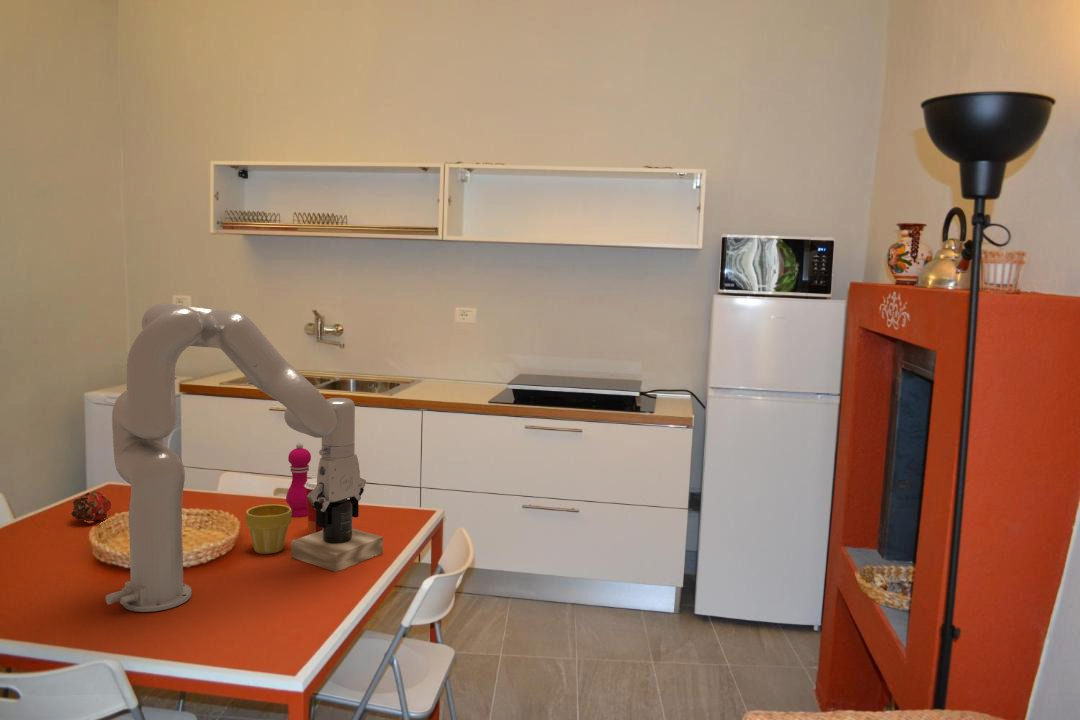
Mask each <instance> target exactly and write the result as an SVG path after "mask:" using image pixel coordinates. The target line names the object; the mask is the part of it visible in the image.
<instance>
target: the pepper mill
mask: <svg viewBox="0 0 1080 720" xmlns="http://www.w3.org/2000/svg"><path fill="white" fill-rule="evenodd" d="M287 459H288V462H289V464H290V466H289V468H290V470H289V471H290V472H291V476H292V477H291V483H290V486H289V488H288V489H287V493H286V497H285V501H286V503H287V504H288V506H289V507H290V508H291V510H292V516H291V517H293V516H294V517H295V518H296V517H298V518H300V517H306V516H307V517H308V514H307V497H306V488H305V486H304V485H305V484H306V482H307V480H308V472H309V471H310V468H309V467H310V465H309V463H310V462H311V460H312V454H311V452H310V451H309V450H308V449H306V448H304V444H303V443H302V442H298V443H297V444H296V448H294V449H291V451H289V453H288V457H287Z"/></svg>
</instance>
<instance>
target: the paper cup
mask: <svg viewBox="0 0 1080 720" xmlns="http://www.w3.org/2000/svg"><path fill="white" fill-rule="evenodd" d="M304 486H305V488H306V497H307V496H308V494H309V493H310V492H311V491H312V490H313V489H314V488H316V487H317V477H313V478H309V479H307V482H306V484H305V485H304ZM317 500H318V497H317ZM323 503H324V501H323V502H322V504H321V505H323ZM307 514H308V515H307V524H308V525H307V527H308V535H310V534H313V533H316V532H319V531H322V530H323V527H319V526H317V525H316V510H315V509H314V507H312V506H311V504H310V501H309V499H308V497H307Z"/></svg>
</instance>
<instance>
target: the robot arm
mask: <svg viewBox="0 0 1080 720" xmlns="http://www.w3.org/2000/svg"><path fill="white" fill-rule="evenodd" d="M141 327H142V330H141V331H140V333H138V335H137V336H136V338H135V339H134V341H133V343H132V345H131V347H130V349H129V351H128V356H127V359H126V390H124V391H123V393H121V394H119V396H118V398H117V399H116V400H115V402H114V405H113V408H112V413H111V425H112V426H111V428H112V443H113V445H112V446H113V457H114V464H115V465H114V466H115V469H116V472H117V473H118V475H119V476H120V477H121V478H122V479H123V480H124V481H125V482H127V484H129V485H130V490H131V491H130V500H129V508H128V528H129V529H128V531H129V532H128V533H129V563H130V565H129V566H130V580H128V581H126V582H124V587H122V588H121V590H119V591H115V592H112V593H108V594H106V595H105V601H106V604H107V605H111V604H115V603H117V602H119V603H120V604H121V605H122V606H123V607H124V608H125V609H126V610H129V611H132V612H137V613H138V612H139V613H149V612H151V613H152V612H159V611H160V612H161V611H166V610H169V609H172V608H176V607H178V606H180V605H182V604H185V602H187V601H188V600H190V599H191V597H192V593H193V592H192V587H191V586H190V585H188V584H186V583H184V560H183V559H184V558H183V553H184V552H183V547H184V546H183V493H184V487H185V480H186V471H185V466H184V463H183V461H182V460H181V458H180V457H179V455H178V454H177V453H176V452H174V451H173V450H172V449H170V448H169V447H167V446H165V445H164V439H165V438H167V437H168V436H169V435H171V433H173V431H174V430H175V428H176V424H177V419H178V418H177V416H178V414H177V400H176V399H177V397H176V367H177V362H178V360H179V358H180V356H181V355H182V353H183V352H184V351H185V350H186V349H187V348H189V347H196V348H197V347H198V348H199V347H200V348H214V349H218V350H221V351H222V352H223V353H224V354H225V355H226V356H227V357H228V359H229V360H230V361H231V362H232V363H233V364H234V365H235V366H236V367H237V368H238V369H239V371H240V372H241V373H242V375H244V377H246V379H247V380H248V381H249V382H250V383H251V385H253V386H254V387H255V388H257V389H258V390H259V391H260V392H262V393H264V394H266V395H267V396H268V397H271V398H272V399H274V400H276V401H277V402H278V403H280V404H281V405H283V406H284V407H285V410H284V417H283V419H284V421H285V423H286V425H287V426H288V427H289V428H290V429H292V430H293V431H296V432H299V433H302V434H304V435H307V436H311V437H312V438H314V439H315V438H316V439H317V438H318V439H321V449H320V450H319V451H318V454H319V455H320V456H321V457H320V458H319V461H318V468H317V475H316V476H317V477H316V478H317V487H316V488H314V489H313V490H312V491H311V492H310V493H309V494H308V496H307V497H308V499H309V501H310V504H311V506H312V507H314V509H315V510H316V525H317V526H319V527H323V528H327V527H328V511H325V510H326V508H327V507H328V505H329V503H330V502H337V501H341V500H343V499H348V500H350V501H351V502H352V518H359V509H360V508H359V507H360V505H359V503H360V502H359V501H361V499H362V497H361V496H362V495H363V493H364V491H365V486H366V483H367V480H366V479H364V478H361V473H360V472H361V470H360V464H359V459H358V455H357V454H356V452H355V448H356V447H355V444H356V443H355V437H356V435H355V434H356V433H355V427H356V425H355V424H356V423H355V422H356V421H355V420H356V418H355V417H356V413H355V412H356V406H355V402H354V400H352V399H351V398H349V397H330V398H327V399H326V397H325V396H324V395H323V394H322V393H321V392H320V391H319V390H318V389H317V388H316V386H314V385H313V384H312V383H311V382H310V381H309V380H308V378H305V377H304V376H303V374H301V372H299V371H298V370H297V369H296V368H295V367H294V366H292V365H291V364H290V363H289V362H288V361H287V360H286V359H285V358H284V357H283V355H282V354H281V353H280V352H279V351H278V350H277V349H276V348H275V347H274V345H273V344H272V343H271V342H270V340H269V339H268V338H267V337H266V335H264V333H263V332H262V330H261V329H259V327H258V326H257V325H256V324H255V323H254V322H253V320H252V319H251V318H249V316H247V315H246V314H244V313H242V312H238V311H235V310H227V309H217V308H205V307H198V306H197V307H195V306H189V305H183V304H176V303H175V304H173V303H165V302H164V303H163V302H162V303H158V304H154V305H152V306H151V307H149V308H147V310H146V311H145V312H144V314H143V316H142V318H141ZM317 497H318V500H317ZM323 501H324V503H323V505H321V504H322V502H323Z"/></svg>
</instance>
